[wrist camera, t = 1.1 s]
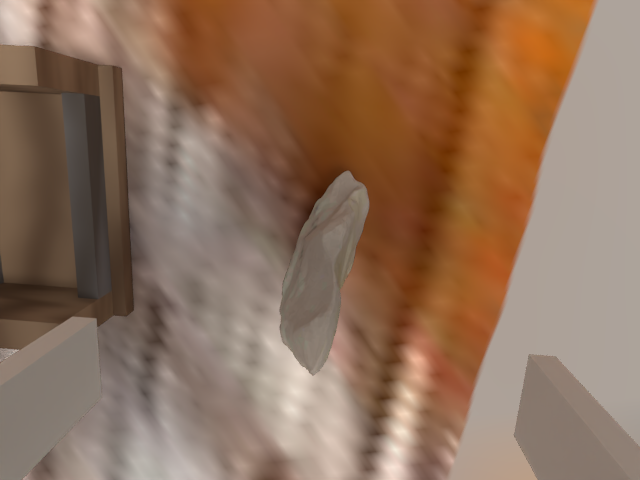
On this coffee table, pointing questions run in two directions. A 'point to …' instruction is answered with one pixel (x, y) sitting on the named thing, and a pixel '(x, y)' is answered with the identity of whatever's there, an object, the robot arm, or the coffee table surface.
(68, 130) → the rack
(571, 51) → the coffee table surface
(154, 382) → the coffee table surface
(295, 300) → the stone tool
